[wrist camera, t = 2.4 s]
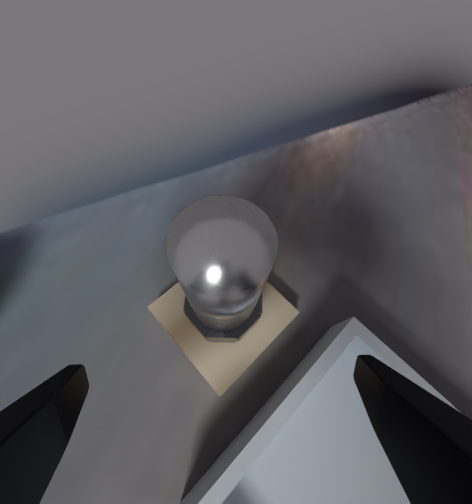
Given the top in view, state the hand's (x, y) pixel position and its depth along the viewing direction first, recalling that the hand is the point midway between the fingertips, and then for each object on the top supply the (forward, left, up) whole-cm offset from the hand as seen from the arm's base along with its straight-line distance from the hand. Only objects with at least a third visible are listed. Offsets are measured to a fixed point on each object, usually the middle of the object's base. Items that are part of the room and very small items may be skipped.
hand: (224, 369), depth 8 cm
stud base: (+3, -3, -11) cm, 12 cm away
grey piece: (+3, -3, -9) cm, 10 cm away
